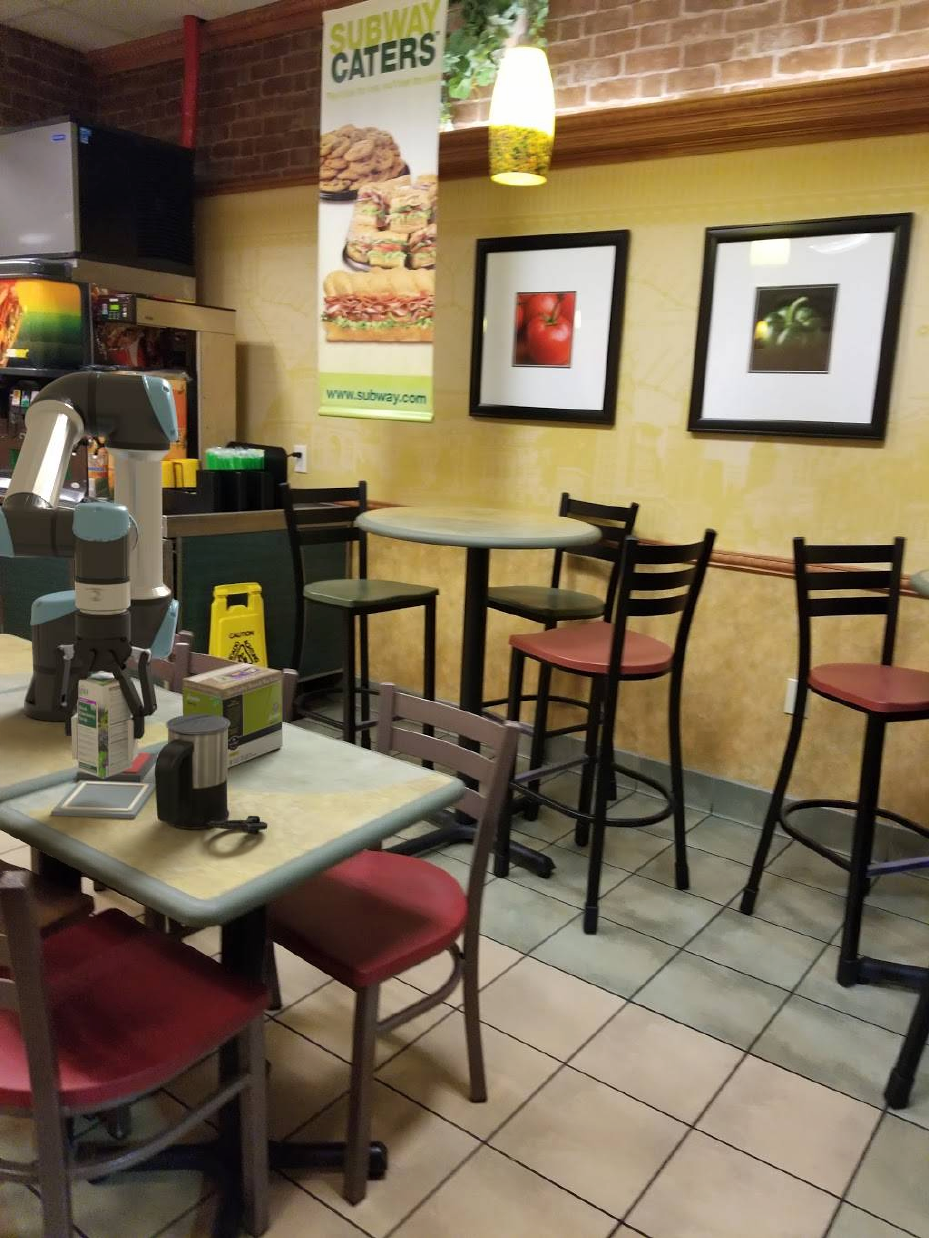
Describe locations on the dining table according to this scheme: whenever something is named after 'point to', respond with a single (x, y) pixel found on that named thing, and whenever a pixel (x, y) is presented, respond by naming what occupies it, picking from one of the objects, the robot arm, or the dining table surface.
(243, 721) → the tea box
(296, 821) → the dining table surface
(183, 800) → the milk frother
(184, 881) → the dining table surface
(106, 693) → the syrup box
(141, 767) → the ink pad
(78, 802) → the marked board
